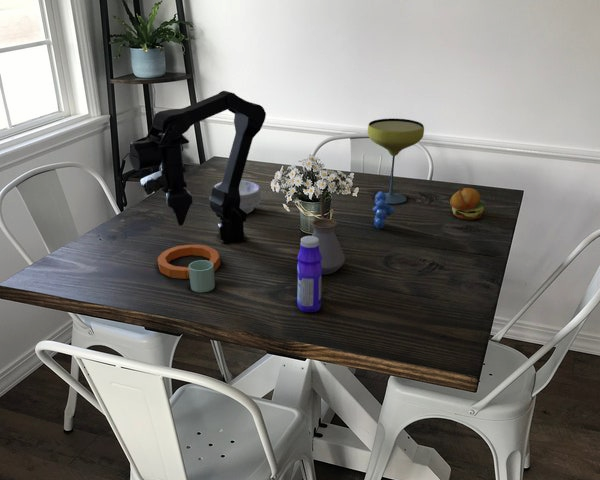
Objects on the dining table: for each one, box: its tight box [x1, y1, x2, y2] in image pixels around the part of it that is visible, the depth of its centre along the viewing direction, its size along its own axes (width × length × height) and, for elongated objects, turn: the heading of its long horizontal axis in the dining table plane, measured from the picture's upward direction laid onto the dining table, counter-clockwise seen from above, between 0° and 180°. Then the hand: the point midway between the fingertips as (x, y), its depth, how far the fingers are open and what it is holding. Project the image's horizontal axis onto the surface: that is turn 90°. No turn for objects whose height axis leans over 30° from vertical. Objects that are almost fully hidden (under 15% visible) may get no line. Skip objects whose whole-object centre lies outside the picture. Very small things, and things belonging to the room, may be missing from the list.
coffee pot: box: [311, 194, 346, 275], centre depth 167 cm, size 21×12×15 cm, turn 0°
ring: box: [157, 244, 221, 280], centre depth 167 cm, size 16×16×2 cm
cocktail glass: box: [367, 118, 425, 205], centre depth 206 cm, size 18×18×25 cm
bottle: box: [296, 235, 323, 313], centre depth 144 cm, size 7×6×17 cm
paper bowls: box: [213, 179, 262, 214], centre depth 201 cm, size 15×15×8 cm
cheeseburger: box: [448, 187, 485, 221], centre depth 197 cm, size 10×11×10 cm
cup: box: [188, 259, 216, 293], centre depth 155 cm, size 6×6×6 cm
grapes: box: [371, 190, 395, 230], centre depth 187 cm, size 12×7×12 cm, turn 176°
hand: (178, 218), depth 168 cm, fingers open, 9 cm apart
